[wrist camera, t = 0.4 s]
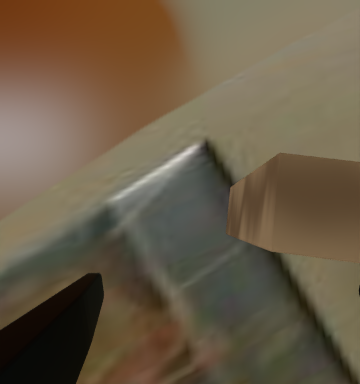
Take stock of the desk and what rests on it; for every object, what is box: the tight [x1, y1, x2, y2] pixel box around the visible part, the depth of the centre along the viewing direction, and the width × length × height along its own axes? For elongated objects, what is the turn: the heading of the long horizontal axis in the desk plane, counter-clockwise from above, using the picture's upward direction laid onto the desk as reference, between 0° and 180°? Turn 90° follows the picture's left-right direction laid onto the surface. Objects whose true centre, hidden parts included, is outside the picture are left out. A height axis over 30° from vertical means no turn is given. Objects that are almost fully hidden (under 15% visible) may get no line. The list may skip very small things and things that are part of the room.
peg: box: [226, 153, 360, 263], centre depth 17 cm, size 4×4×12 cm
